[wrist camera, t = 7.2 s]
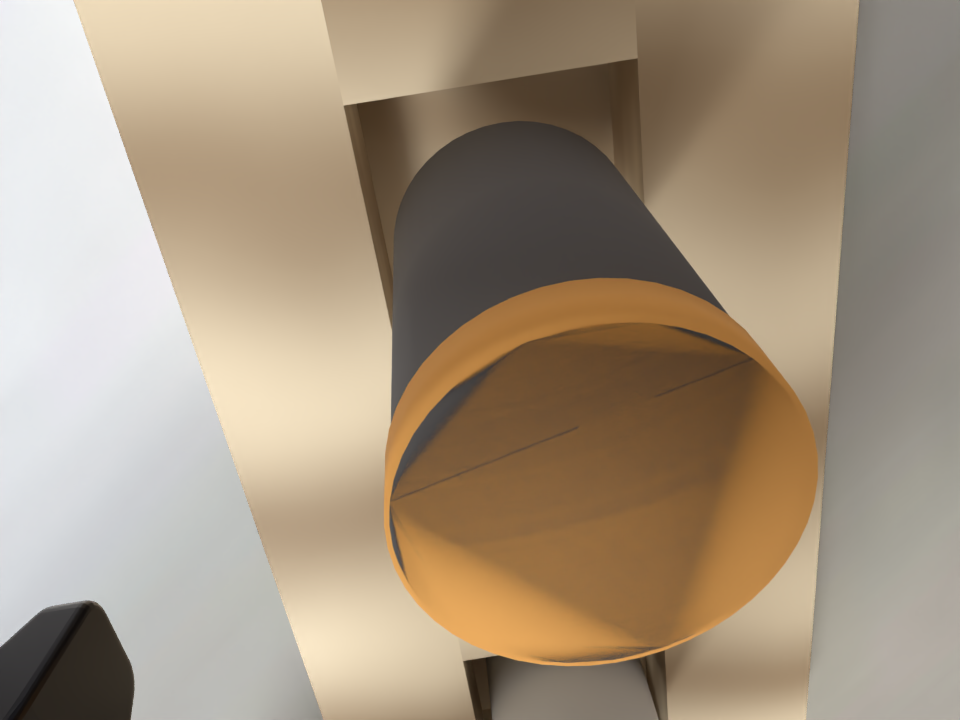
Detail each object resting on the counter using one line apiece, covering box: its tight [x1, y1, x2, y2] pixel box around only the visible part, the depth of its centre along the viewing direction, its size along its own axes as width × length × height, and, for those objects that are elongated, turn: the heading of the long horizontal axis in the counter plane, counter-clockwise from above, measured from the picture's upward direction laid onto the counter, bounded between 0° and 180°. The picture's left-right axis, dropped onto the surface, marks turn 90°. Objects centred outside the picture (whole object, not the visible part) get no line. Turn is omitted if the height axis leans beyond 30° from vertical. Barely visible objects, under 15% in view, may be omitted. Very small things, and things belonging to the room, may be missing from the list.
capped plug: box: [384, 121, 818, 666], centre depth 11 cm, size 4×4×7 cm
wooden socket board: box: [74, 0, 859, 720], centre depth 19 cm, size 24×12×3 cm, turn 8°
